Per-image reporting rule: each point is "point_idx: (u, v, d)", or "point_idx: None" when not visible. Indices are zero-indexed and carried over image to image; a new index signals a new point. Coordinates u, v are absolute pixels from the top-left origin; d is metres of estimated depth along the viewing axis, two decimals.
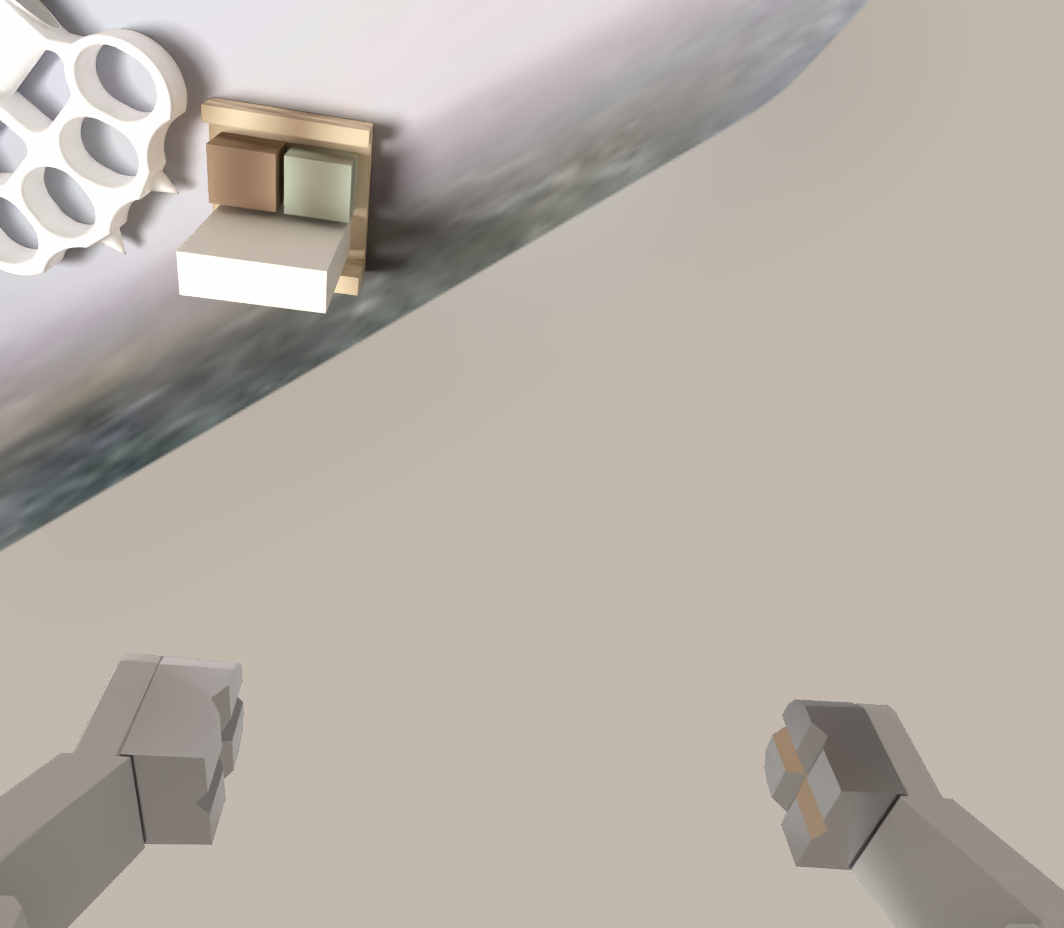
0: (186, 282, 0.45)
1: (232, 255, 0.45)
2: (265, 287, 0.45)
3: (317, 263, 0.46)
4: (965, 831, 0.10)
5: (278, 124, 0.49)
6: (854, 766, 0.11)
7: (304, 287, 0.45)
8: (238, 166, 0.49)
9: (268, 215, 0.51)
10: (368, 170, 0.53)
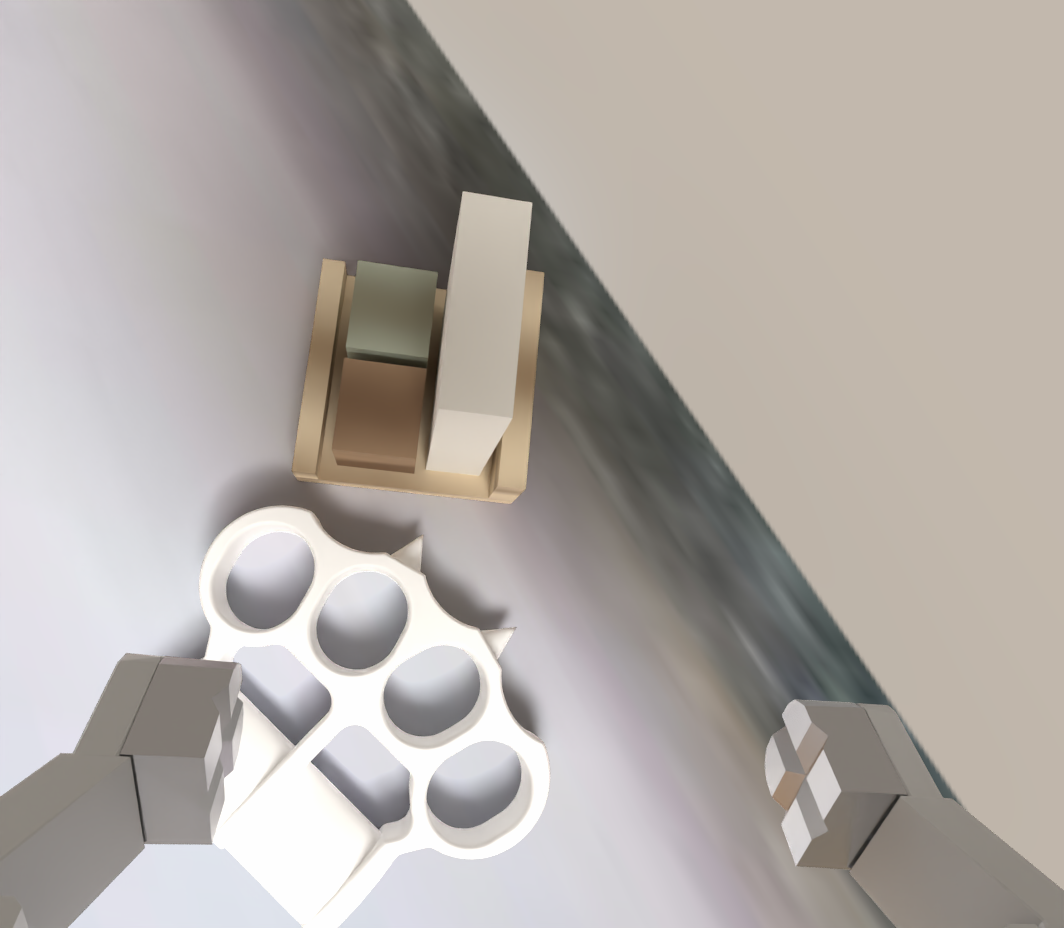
0: (491, 403, 0.27)
1: (446, 335, 0.28)
2: (493, 284, 0.28)
3: (458, 221, 0.29)
4: (964, 831, 0.10)
5: (316, 372, 0.36)
6: (854, 766, 0.11)
7: (490, 227, 0.28)
8: (362, 409, 0.34)
9: None
10: None
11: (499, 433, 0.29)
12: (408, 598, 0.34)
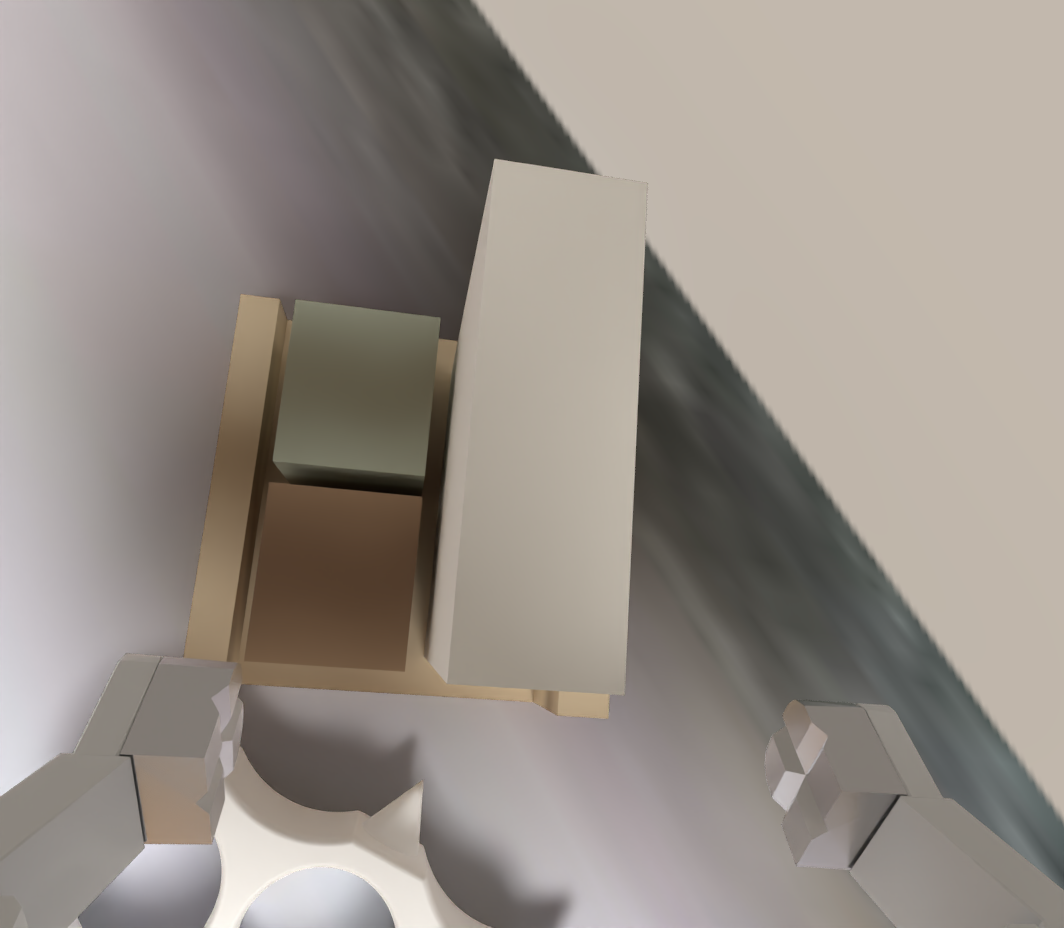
0: (572, 661, 0.11)
1: (462, 489, 0.12)
2: (570, 369, 0.12)
3: (484, 227, 0.14)
4: (964, 831, 0.10)
5: (227, 499, 0.20)
6: (854, 766, 0.11)
7: (558, 239, 0.13)
8: (303, 580, 0.18)
9: (439, 528, 0.20)
10: None
11: None
12: (396, 925, 0.19)
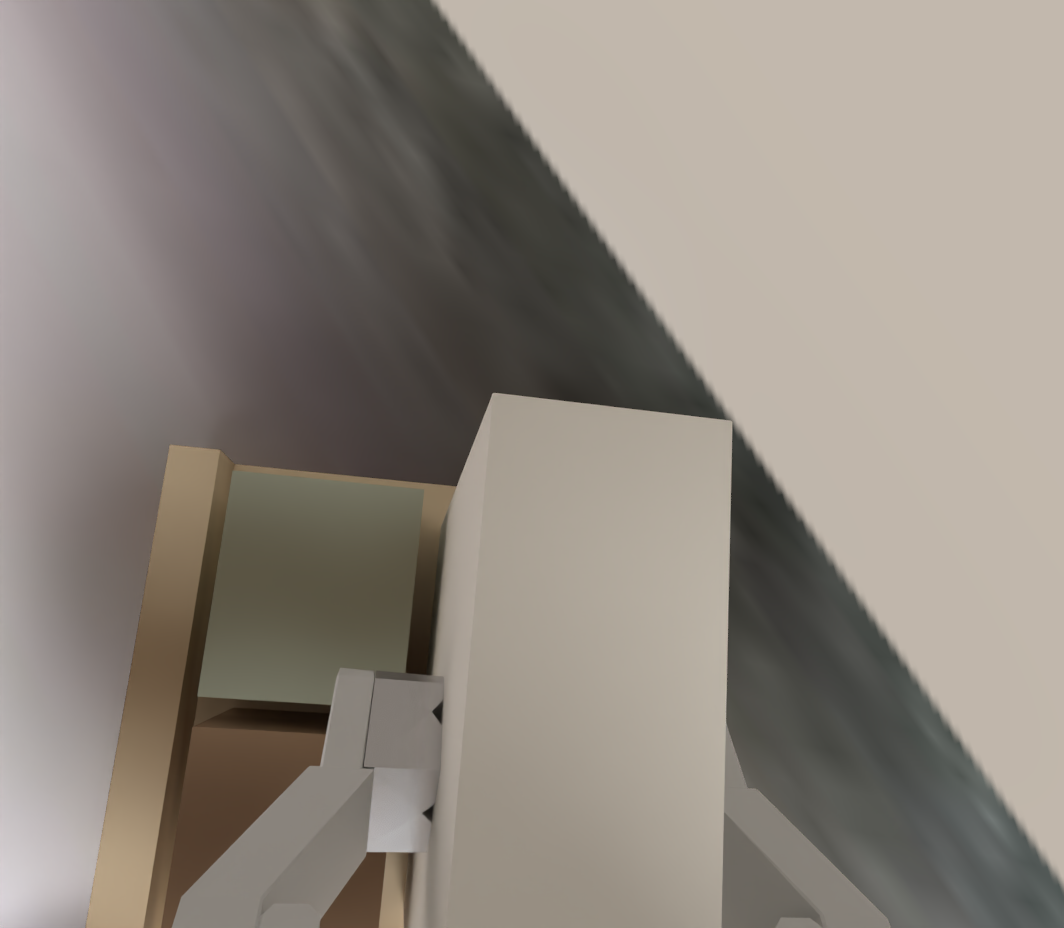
0: None
1: None
2: (614, 750, 0.07)
3: (478, 474, 0.09)
4: (760, 822, 0.10)
5: (146, 722, 0.15)
6: None
7: (595, 524, 0.08)
8: None
9: None
10: (313, 474, 0.18)
11: None
12: None
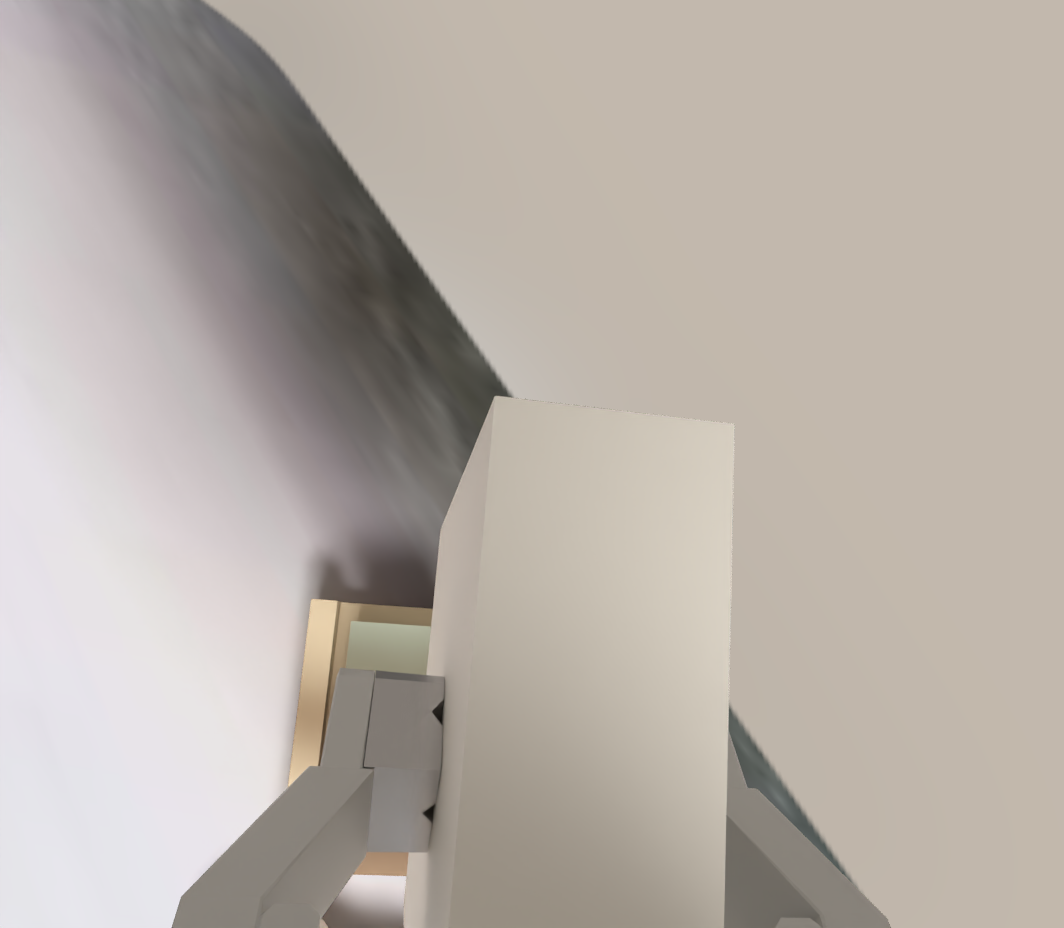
0: None
1: None
2: (617, 754, 0.07)
3: (479, 477, 0.09)
4: (760, 822, 0.10)
5: (305, 747, 0.30)
6: None
7: (597, 528, 0.08)
8: None
9: None
10: (384, 606, 0.33)
11: None
12: None
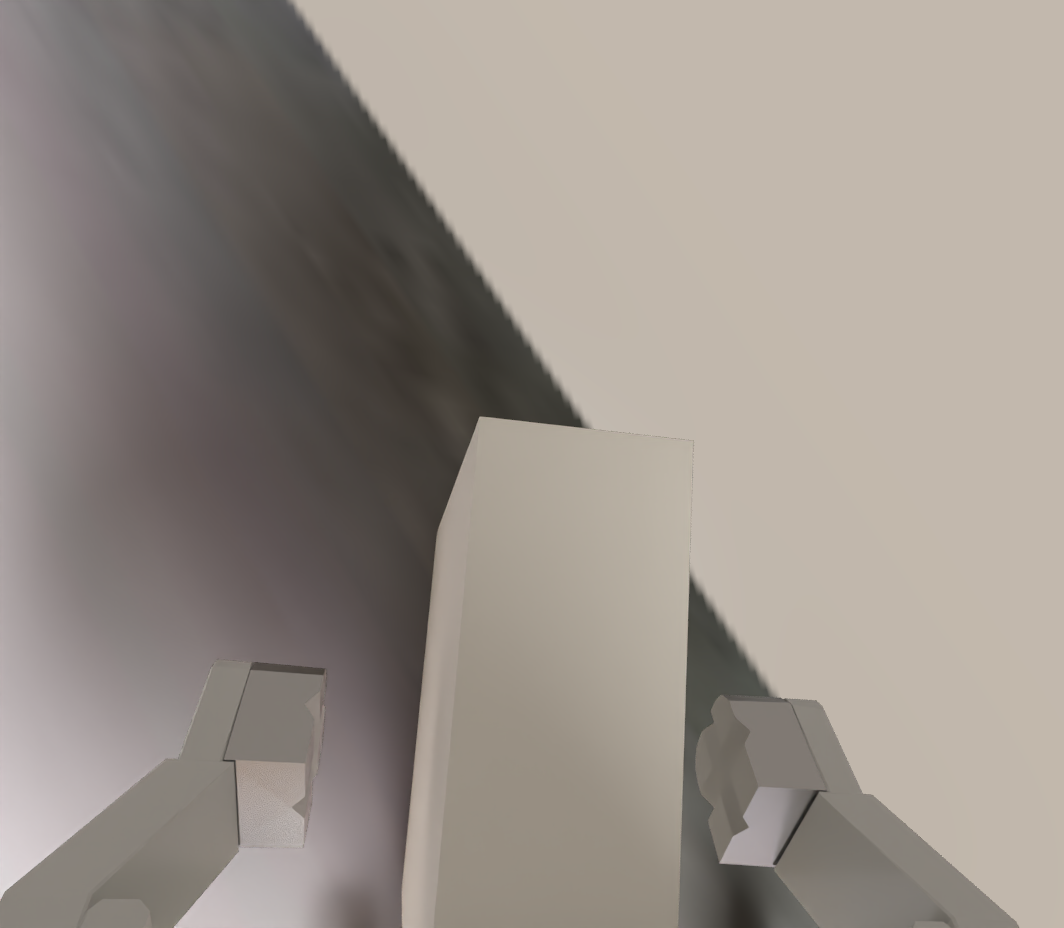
0: None
1: (431, 911, 0.08)
2: (585, 732, 0.09)
3: (467, 488, 0.10)
4: (881, 827, 0.10)
5: None
6: (774, 761, 0.11)
7: (569, 532, 0.09)
8: None
9: (418, 757, 0.16)
10: None
11: None
12: None
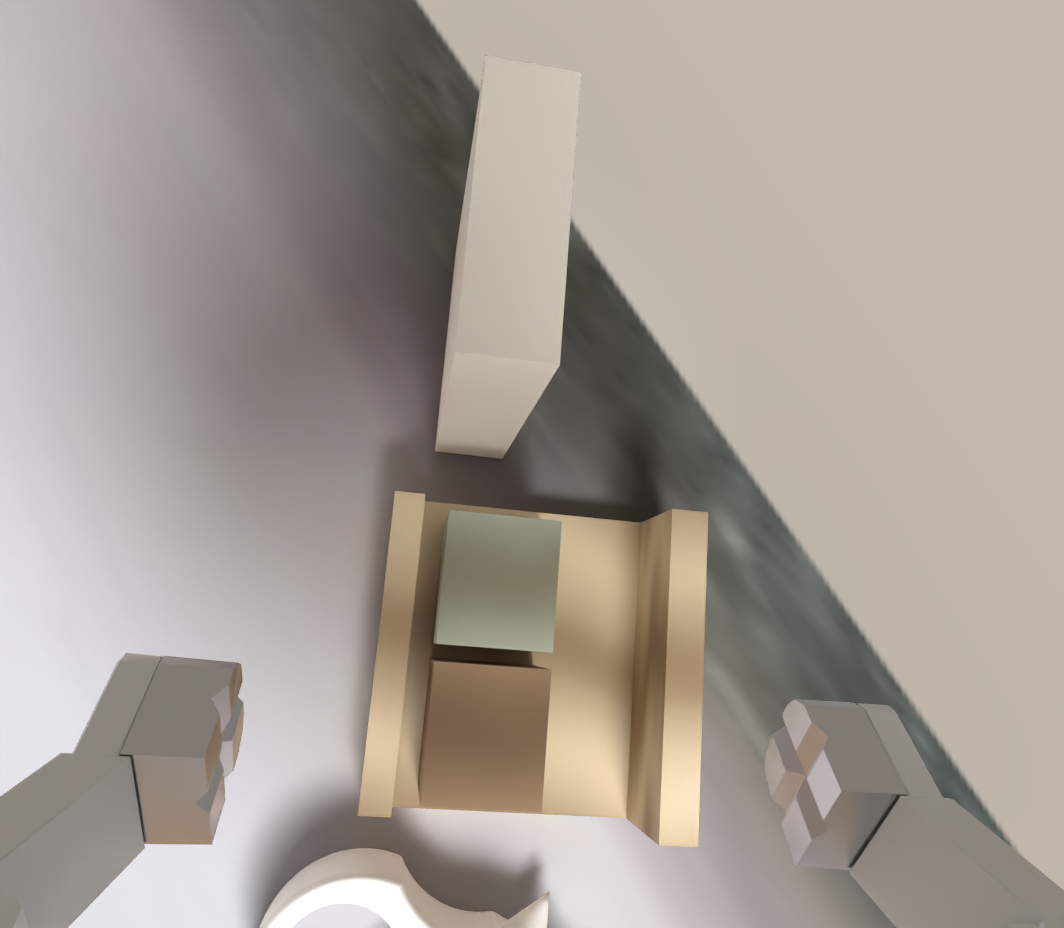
0: (529, 344, 0.19)
1: (464, 251, 0.20)
2: (530, 180, 0.20)
3: (479, 102, 0.21)
4: (964, 831, 0.10)
5: (390, 662, 0.25)
6: (854, 766, 0.11)
7: (524, 104, 0.20)
8: (462, 740, 0.23)
9: (447, 345, 0.28)
10: (474, 507, 0.28)
11: (537, 392, 0.21)
12: None
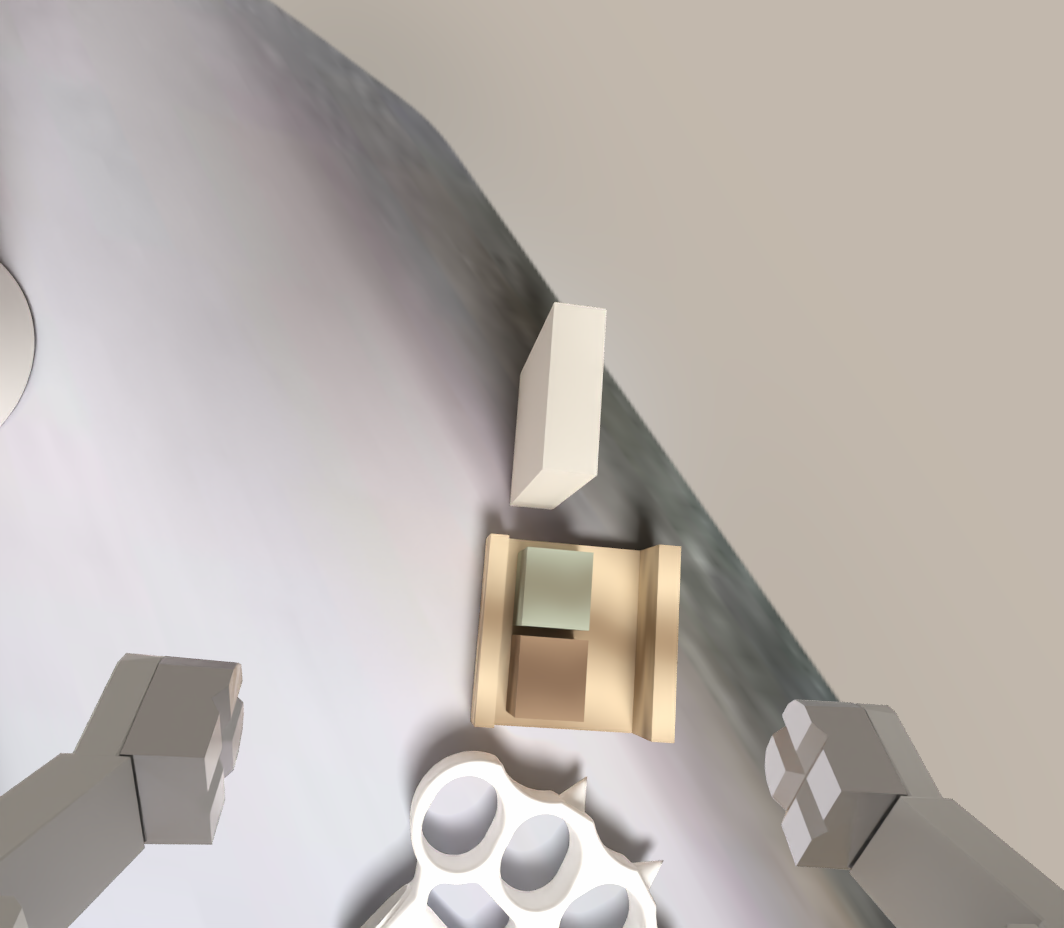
0: (580, 464, 0.36)
1: (544, 412, 0.37)
2: (579, 373, 0.37)
3: (549, 323, 0.38)
4: (964, 831, 0.10)
5: (490, 637, 0.42)
6: (854, 766, 0.11)
7: (576, 329, 0.37)
8: (538, 681, 0.40)
9: (520, 442, 0.45)
10: (536, 542, 0.45)
11: (582, 483, 0.39)
12: (580, 842, 0.41)
